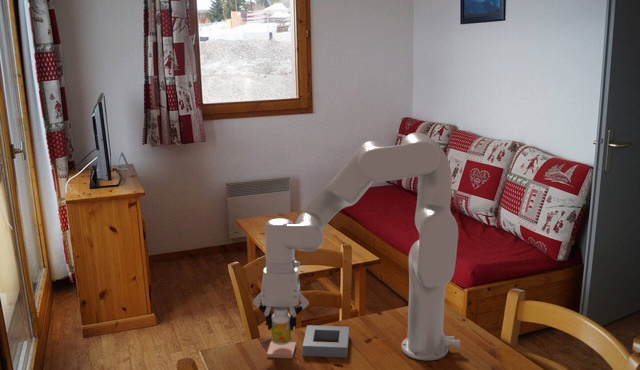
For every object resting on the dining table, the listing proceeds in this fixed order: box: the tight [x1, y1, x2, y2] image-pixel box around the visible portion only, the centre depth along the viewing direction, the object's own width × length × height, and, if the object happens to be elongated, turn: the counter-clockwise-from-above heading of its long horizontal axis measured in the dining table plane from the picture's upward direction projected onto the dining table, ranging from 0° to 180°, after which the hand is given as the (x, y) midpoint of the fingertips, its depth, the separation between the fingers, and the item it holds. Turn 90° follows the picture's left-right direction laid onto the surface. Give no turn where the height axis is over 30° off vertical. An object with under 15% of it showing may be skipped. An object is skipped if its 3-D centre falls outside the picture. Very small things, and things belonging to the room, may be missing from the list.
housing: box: [302, 324, 350, 359], centre depth 179 cm, size 12×12×3 cm
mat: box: [266, 340, 297, 359], centre depth 177 cm, size 7×7×1 cm
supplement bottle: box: [270, 307, 292, 345], centre depth 175 cm, size 5×5×10 cm
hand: (281, 327), depth 175 cm, fingers closed on supplement bottle, 5 cm apart
